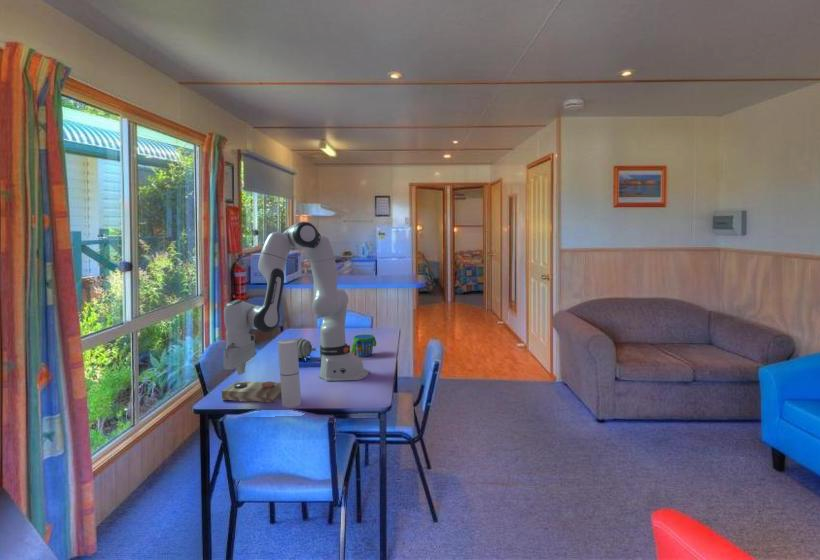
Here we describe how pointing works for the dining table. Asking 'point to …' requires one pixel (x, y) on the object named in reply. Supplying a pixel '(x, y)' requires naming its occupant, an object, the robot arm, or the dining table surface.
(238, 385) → the charcoal button
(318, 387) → the dining table surface
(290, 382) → the cylindrical container
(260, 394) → the button panel
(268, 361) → the dining table surface
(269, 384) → the terracotta button
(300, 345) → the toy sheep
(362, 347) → the snack cup
